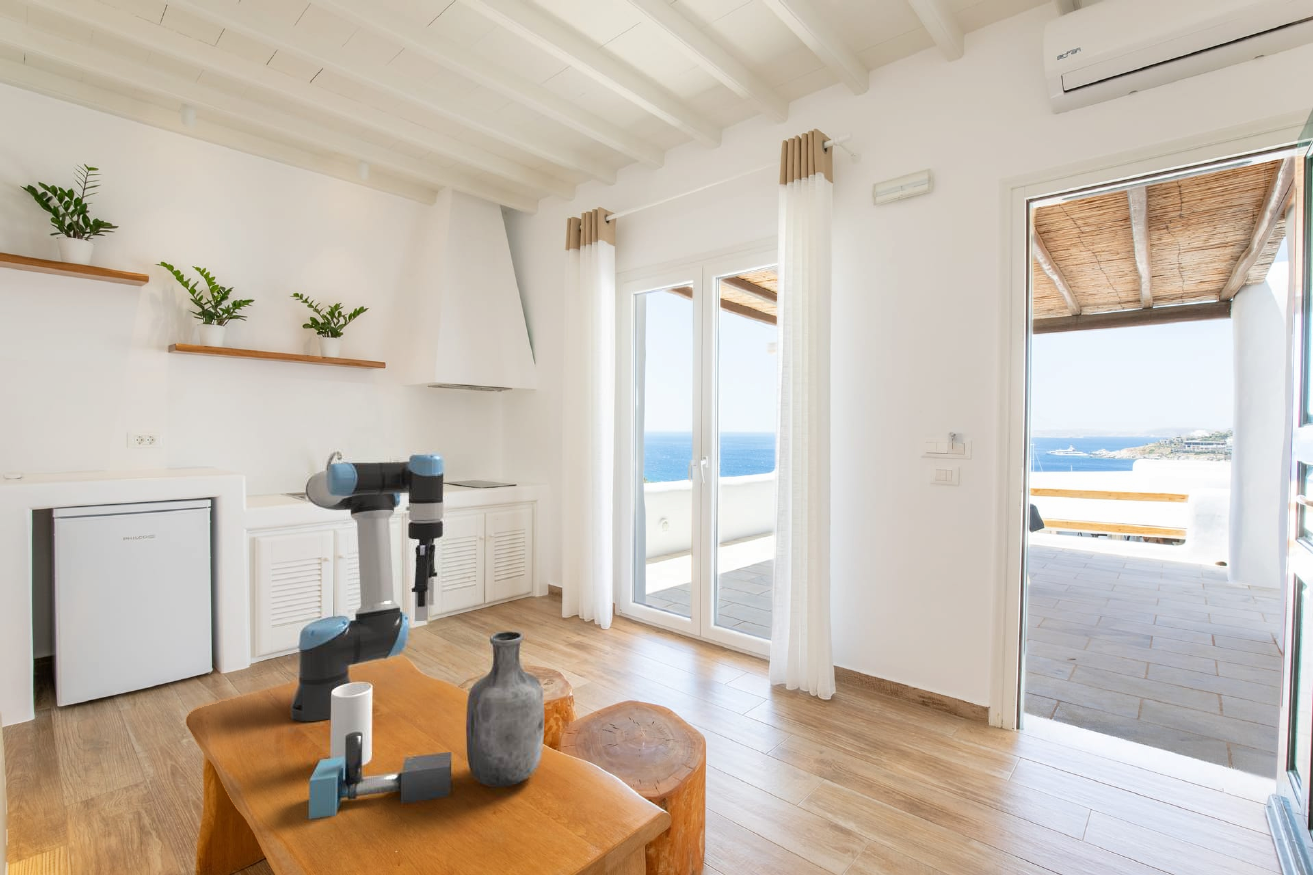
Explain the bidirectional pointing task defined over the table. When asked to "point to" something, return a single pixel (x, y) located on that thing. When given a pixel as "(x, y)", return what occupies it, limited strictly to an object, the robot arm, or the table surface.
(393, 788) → the handle
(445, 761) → the block
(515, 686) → the vase
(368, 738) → the cup
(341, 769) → the socket
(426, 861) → the table surface
